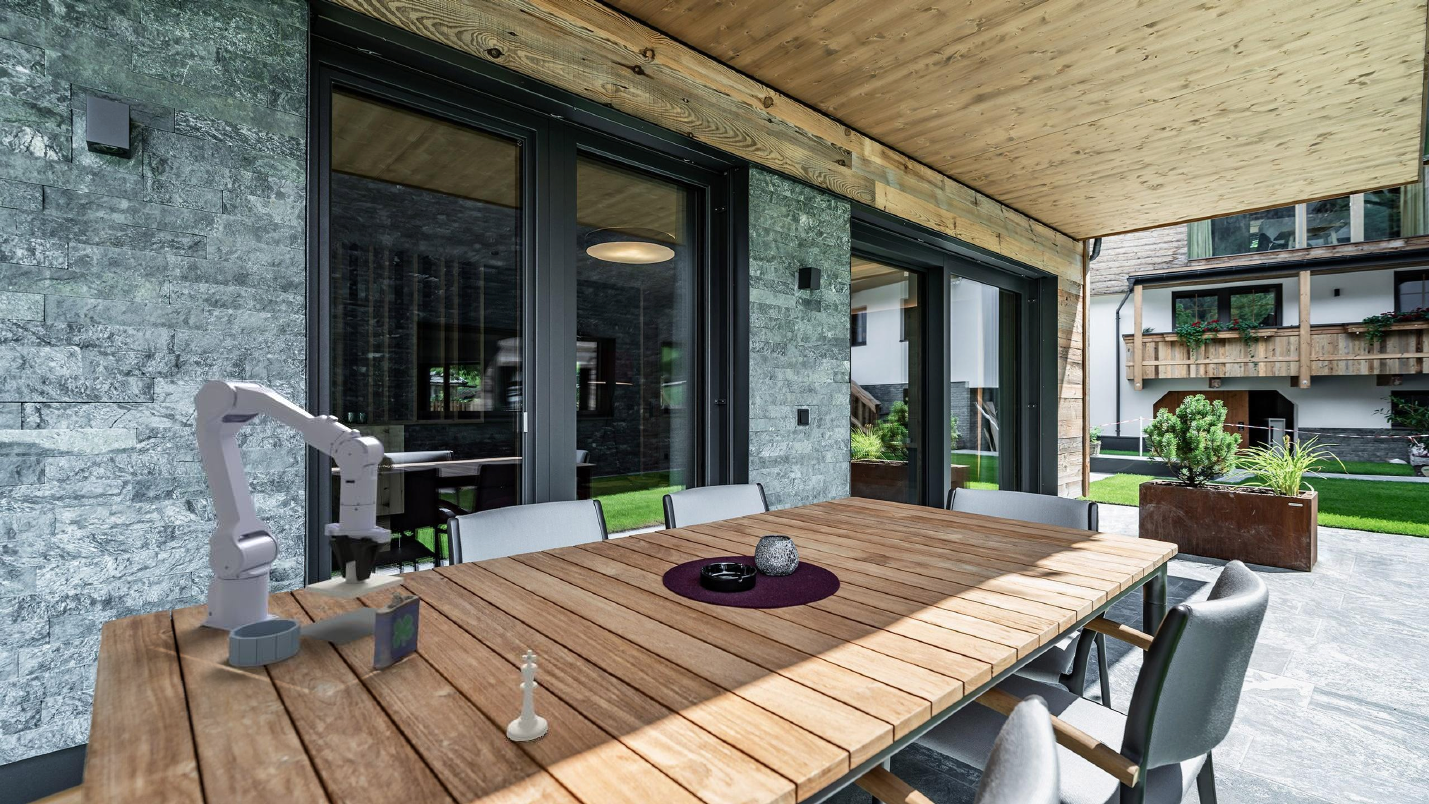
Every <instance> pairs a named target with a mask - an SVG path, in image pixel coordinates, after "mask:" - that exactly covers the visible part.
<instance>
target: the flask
mask: <svg viewBox="0 0 1429 804" xmlns="http://www.w3.org/2000/svg"><path fill="white" fill-rule="evenodd" d="M391 595H392V597H391V599H390V601H391V602H390V603H388V604H385V605H384V606H382V607H381V608H378V609H379V610H377V611H376V613H375V618H376V619H375V633H374V650H373V653H374V655H373V668H374V669H376V670H375V672H377V671H379V672H380V671H381V672H384V671H385V670H389V669H391V668H393V667H394V665H396V664H399V663H401V662H403V660H404V659H405V658H404V657H405V656H406V655H408V654H409V655H410V654H411V653H413V652H416V650H418V640H419V639H418V637H419V621H420V604H421V602H420V601H421V600H420V595H414V594H406V595H404V596H402V595H403V592H401V591H397V590H393V591H392V592H390V593H389V595H388V596H391Z"/></svg>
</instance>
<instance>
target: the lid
mask: <svg viewBox="0 0 1429 804" xmlns="http://www.w3.org/2000/svg"><path fill="white" fill-rule="evenodd" d="M404 583H405V578H404V577H401V576H393V575H387V574H386V575H385V574H379V573H374V572H371V575H370V578H369V579H366V580H362V581H357V578H356V567H355V561H351V562H347V563H346V578H342V576H338V577H336V578H332V579H328V580H324V581H319V582H316V583H312V584H308V585H305V590H304V592H305V593H311V594H315V595H316V594H317V595H321V596H328V597H332V598H339V599H343V600H351V599H352V600H353V599H356V598H358V597H362V596H366V595H370V594H373V593H376V592H379V591H382V590H386V589H389V588H392V587H397V586H399V585H403V584H404Z"/></svg>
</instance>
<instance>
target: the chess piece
mask: <svg viewBox="0 0 1429 804" xmlns="http://www.w3.org/2000/svg"><path fill="white" fill-rule="evenodd" d="M537 658H538V657H537V655H535V654H533V655H532V650H531V649H528V650H527V654H523V655H522V656H521V660H522V661H526V663H524V664H523V665H521V667H520V671H521V674H522V679H523V681H524V682H522V683H520V685H519V689H520V690H521V691H524V692H523V693H524V694H523V700H522V701H523V703H522V708H521V713H520V716H518V718H516V719H514V720H512V721H511V722H510V723H509V724H508V726H507V731H506V736H507V738H508V739H509V738H510V739H509V740H512V741H514V742H518V741H525V740H532V739H535V738H538V737H540V738H542V737H544V736H545V735H546V734H547V733H548V731H547V730H549V726H548V721H547V720H546V719H545V718H543V717H541V716H538V715H537V714H536V713H535V705H534V692H533V690H535V689H537V688H538V683H537V682H536V681H534V680H535V676H536V672H537V670H538V665H537V664H535V663H533V662H532V661H536V660H537ZM545 733H546V734H545ZM544 734H545V735H544ZM541 736H542V737H541ZM538 739H539V738H538ZM532 741H533V740H532Z"/></svg>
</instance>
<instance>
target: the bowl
mask: <svg viewBox="0 0 1429 804" xmlns="http://www.w3.org/2000/svg"><path fill="white" fill-rule="evenodd" d="M300 627H301V622H300V620H297V619H292V618H278V619H271V620H264V621H258V622H253V623H250V624H246V625H243V626H240V627H238V628H236V629H234V630H232V631H229V639H228V640H229V641H228V664H230V665H231V666H234V667H241V668H242V667H259V666H265V665H269V664H275V663H278V662H281V661H284V660H286V659H289V658H292V657H293V656H294V655H296V654H297V653H298V652H299V650H300V649H301V648H300V646H301V635H300Z"/></svg>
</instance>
